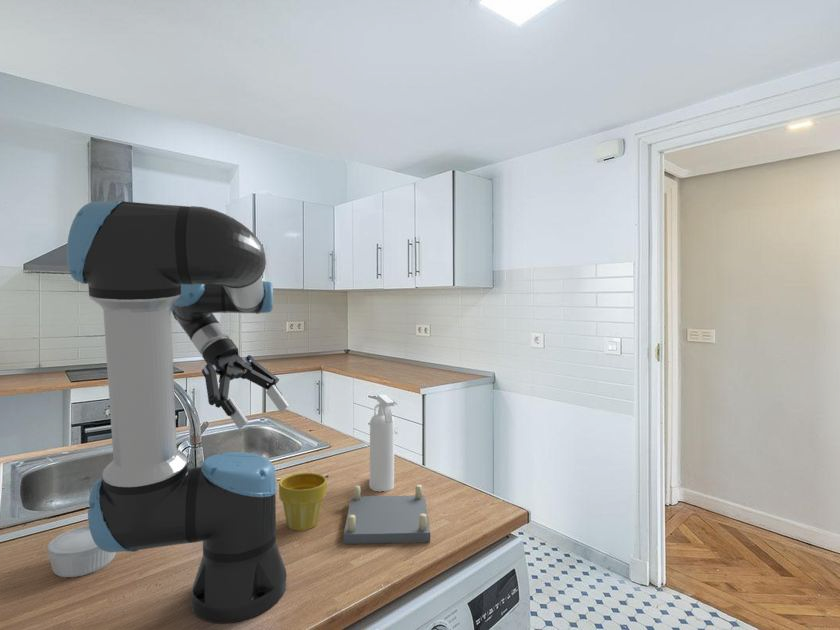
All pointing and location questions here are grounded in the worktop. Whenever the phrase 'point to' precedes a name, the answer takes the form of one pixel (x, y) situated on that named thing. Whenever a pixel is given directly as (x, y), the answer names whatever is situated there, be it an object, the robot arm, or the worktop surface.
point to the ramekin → (77, 553)
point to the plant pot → (302, 499)
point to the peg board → (387, 519)
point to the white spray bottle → (382, 446)
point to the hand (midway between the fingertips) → (265, 416)
